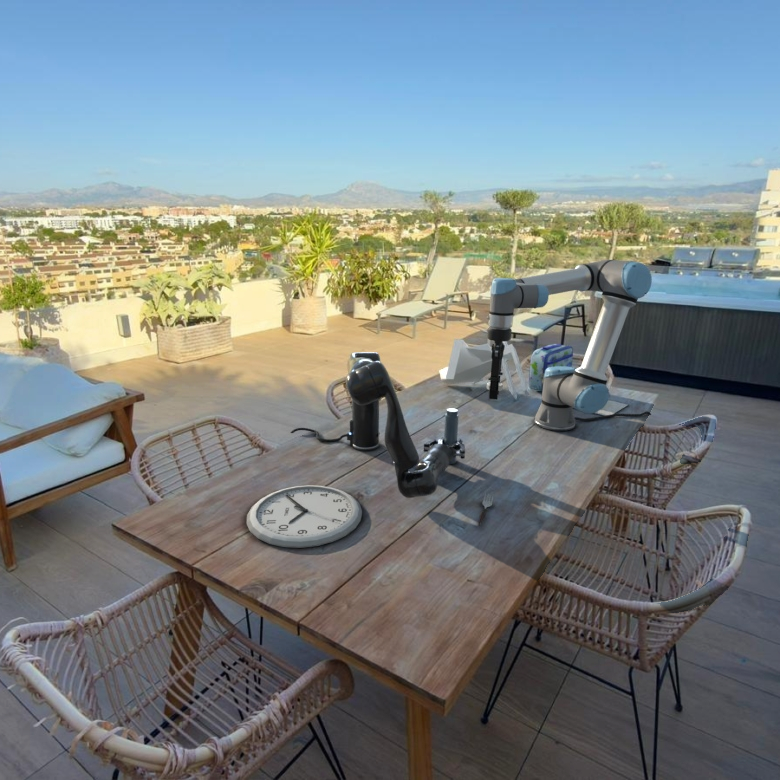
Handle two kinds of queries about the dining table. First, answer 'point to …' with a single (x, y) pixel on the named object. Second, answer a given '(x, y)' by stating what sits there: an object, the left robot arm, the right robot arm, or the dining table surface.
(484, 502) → the fork
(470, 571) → the dining table surface
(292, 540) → the wall clock
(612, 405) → the invitation card
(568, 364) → the lunch box
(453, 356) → the white plastic object
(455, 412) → the bottle
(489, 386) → the lid
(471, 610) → the dining table surface
